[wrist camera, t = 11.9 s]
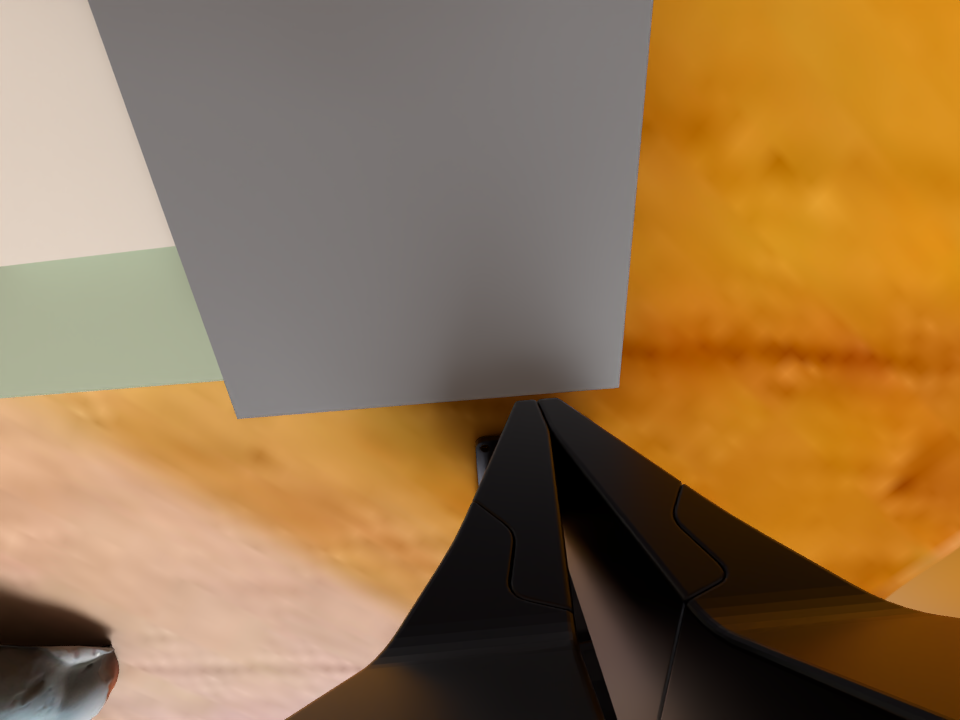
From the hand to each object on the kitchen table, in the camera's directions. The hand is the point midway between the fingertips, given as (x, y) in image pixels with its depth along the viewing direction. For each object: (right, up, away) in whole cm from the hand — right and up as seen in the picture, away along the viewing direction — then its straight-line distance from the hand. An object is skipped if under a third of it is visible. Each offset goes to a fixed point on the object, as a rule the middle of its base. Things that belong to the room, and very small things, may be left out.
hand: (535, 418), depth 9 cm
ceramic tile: (-17, +10, +8) cm, 21 cm away
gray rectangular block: (-4, +11, +9) cm, 15 cm away
